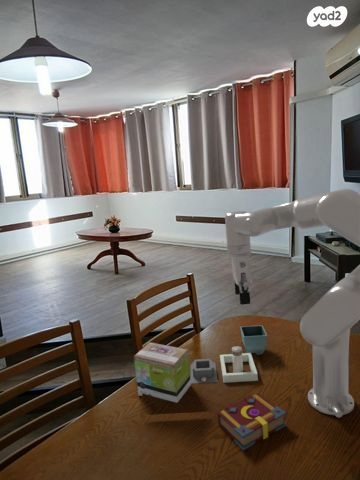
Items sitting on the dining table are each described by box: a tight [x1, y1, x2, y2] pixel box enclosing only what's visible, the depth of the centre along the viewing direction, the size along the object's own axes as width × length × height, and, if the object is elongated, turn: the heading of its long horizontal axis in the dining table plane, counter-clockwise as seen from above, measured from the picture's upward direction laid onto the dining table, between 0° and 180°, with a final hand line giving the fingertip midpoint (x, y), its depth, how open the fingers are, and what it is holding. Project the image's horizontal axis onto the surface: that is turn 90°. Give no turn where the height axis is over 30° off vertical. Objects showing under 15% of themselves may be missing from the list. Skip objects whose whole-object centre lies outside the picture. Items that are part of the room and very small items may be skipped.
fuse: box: [231, 346, 244, 373], centre depth 121 cm, size 4×4×9 cm
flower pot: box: [239, 324, 268, 356], centre depth 134 cm, size 9×9×9 cm
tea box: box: [133, 341, 192, 403], centre depth 114 cm, size 15×10×15 cm
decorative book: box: [217, 393, 287, 451], centre depth 97 cm, size 11×16×5 cm
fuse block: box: [190, 358, 218, 384], centre depth 122 cm, size 12×9×4 cm
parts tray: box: [219, 352, 259, 384], centre depth 121 cm, size 13×11×4 cm
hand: (242, 298), depth 118 cm, fingers open, 9 cm apart
